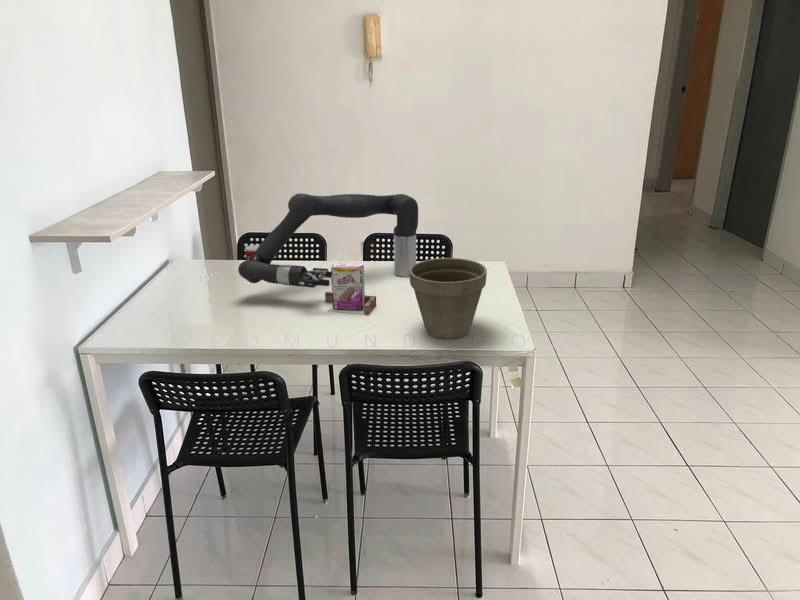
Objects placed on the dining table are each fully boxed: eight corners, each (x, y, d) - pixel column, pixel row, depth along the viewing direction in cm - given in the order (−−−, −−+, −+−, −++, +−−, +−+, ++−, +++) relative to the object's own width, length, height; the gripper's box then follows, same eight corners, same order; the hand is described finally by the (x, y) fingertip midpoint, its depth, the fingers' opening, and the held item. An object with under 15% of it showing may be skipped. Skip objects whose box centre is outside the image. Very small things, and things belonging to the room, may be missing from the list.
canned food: (243, 272, 259) (241, 248, 254) (257, 267, 265) (255, 243, 261) (256, 275, 254) (253, 251, 250) (270, 270, 261) (267, 246, 256)
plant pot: (394, 332, 200) (393, 270, 192) (439, 309, 217) (440, 252, 209) (455, 353, 185) (456, 287, 177) (498, 328, 202) (501, 266, 194)
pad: (335, 302, 225) (335, 302, 225) (371, 306, 221) (371, 305, 221) (327, 311, 218) (327, 310, 218) (364, 314, 214) (364, 314, 214)
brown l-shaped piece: (326, 300, 227) (326, 291, 226) (376, 305, 222) (375, 296, 221) (317, 310, 219) (316, 301, 217) (368, 315, 214) (367, 305, 213)
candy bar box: (332, 310, 218) (330, 267, 212) (335, 305, 222) (333, 262, 216) (363, 311, 216) (361, 268, 210) (365, 306, 221) (364, 263, 215)
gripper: (282, 271, 213) (325, 275, 209) (299, 259, 226) (339, 263, 222) (284, 291, 216) (326, 295, 212) (300, 278, 228) (340, 282, 224)
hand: (333, 279), depth 217 cm, fingers open, 8 cm apart
